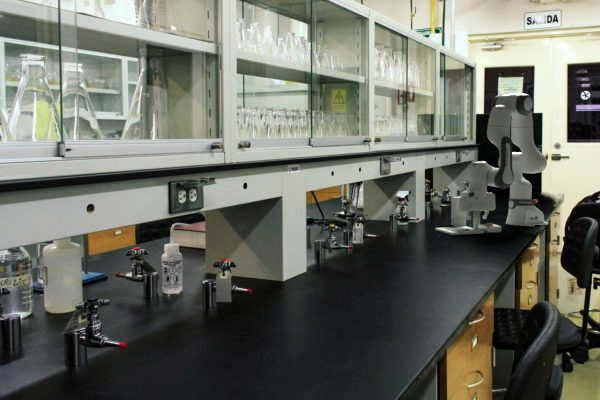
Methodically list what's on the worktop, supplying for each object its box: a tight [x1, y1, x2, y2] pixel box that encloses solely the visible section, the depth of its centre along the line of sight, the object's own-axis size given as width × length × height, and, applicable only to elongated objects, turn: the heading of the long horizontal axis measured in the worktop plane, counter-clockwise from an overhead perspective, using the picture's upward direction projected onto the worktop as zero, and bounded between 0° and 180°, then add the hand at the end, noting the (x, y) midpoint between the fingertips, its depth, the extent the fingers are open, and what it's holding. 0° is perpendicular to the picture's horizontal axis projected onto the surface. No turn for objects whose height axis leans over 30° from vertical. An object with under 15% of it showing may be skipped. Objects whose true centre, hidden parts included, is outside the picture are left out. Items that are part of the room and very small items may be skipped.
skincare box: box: [450, 195, 467, 227], centre depth 329 cm, size 8×7×16 cm
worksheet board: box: [434, 225, 485, 236], centre depth 311 cm, size 18×16×1 cm
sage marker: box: [472, 211, 481, 229], centre depth 320 cm, size 3×3×11 cm
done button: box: [485, 222, 494, 226], centre depth 311 cm, size 3×3×2 cm
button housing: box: [478, 223, 502, 234], centre depth 312 cm, size 8×8×3 cm
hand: (476, 219), depth 320 cm, fingers open, 8 cm apart
